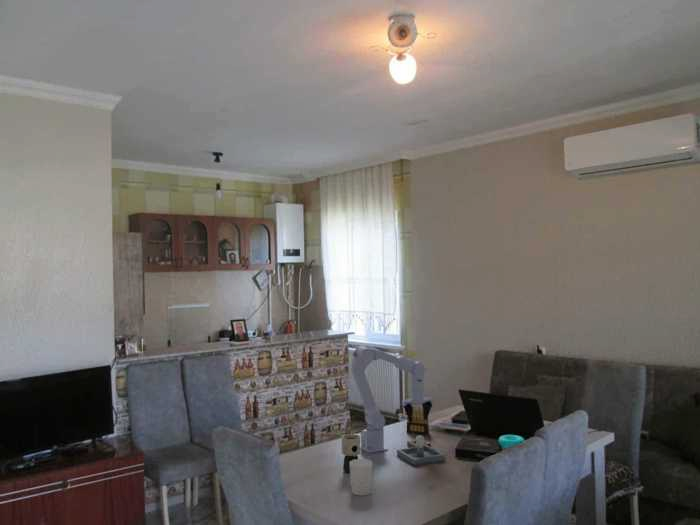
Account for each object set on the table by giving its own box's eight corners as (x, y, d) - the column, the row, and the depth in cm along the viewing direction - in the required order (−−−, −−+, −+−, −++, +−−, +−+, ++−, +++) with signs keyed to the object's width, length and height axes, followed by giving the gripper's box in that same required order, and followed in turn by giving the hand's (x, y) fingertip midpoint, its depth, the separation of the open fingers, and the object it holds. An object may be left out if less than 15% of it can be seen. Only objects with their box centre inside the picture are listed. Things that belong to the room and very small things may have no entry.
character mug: (350, 477, 204) (350, 441, 204) (335, 473, 208) (334, 439, 209) (367, 468, 213) (366, 434, 213) (351, 465, 217) (351, 432, 218)
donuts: (521, 433, 221) (528, 441, 211) (522, 459, 221) (528, 467, 211) (496, 433, 222) (501, 441, 212) (496, 459, 222) (502, 467, 212)
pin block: (415, 450, 234) (415, 445, 234) (407, 445, 241) (407, 441, 241) (431, 448, 237) (431, 443, 237) (422, 443, 244) (422, 438, 244)
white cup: (359, 485, 196) (359, 457, 196) (377, 491, 191) (376, 461, 191) (345, 492, 190) (344, 463, 190) (363, 498, 185) (362, 468, 185)
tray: (414, 466, 215) (414, 459, 215) (397, 455, 228) (396, 449, 228) (444, 460, 220) (444, 454, 220) (426, 450, 233) (426, 445, 233)
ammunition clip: (406, 432, 261) (405, 407, 261) (407, 431, 262) (407, 406, 263) (428, 435, 256) (427, 409, 256) (429, 434, 258) (428, 408, 258)
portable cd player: (501, 449, 234) (501, 440, 234) (496, 462, 218) (496, 452, 218) (462, 446, 240) (462, 436, 240) (455, 458, 224) (455, 448, 224)
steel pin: (418, 457, 222) (418, 437, 222) (415, 455, 225) (415, 435, 225) (425, 456, 223) (424, 437, 223) (422, 454, 226) (421, 434, 226)
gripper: (407, 392, 237) (407, 424, 236) (436, 389, 242) (437, 420, 242) (399, 389, 243) (400, 420, 243) (427, 386, 249) (428, 416, 248)
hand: (418, 420), depth 243 cm, fingers open, 7 cm apart
